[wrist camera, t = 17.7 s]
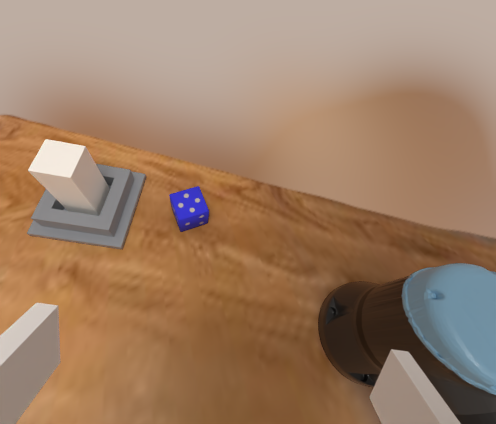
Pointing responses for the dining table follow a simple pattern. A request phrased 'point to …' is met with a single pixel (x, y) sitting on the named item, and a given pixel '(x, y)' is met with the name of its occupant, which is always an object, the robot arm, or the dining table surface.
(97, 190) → the plug
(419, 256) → the dining table surface
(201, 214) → the die
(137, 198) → the socket
